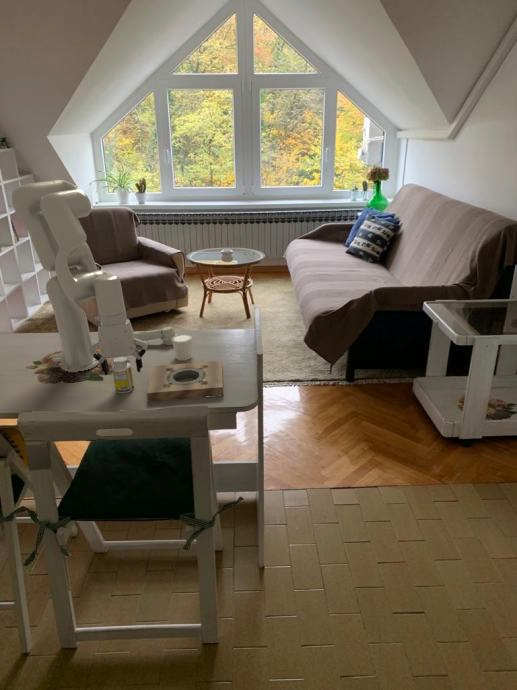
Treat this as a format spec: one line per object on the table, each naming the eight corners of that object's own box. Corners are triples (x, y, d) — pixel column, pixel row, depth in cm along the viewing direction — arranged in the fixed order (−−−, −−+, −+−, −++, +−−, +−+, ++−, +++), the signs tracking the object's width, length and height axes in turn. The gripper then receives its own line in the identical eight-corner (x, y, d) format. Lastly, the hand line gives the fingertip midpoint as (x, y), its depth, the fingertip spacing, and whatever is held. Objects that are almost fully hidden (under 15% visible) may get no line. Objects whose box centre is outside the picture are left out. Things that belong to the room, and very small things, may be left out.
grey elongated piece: (110, 333, 201) (176, 321, 199) (115, 349, 204) (180, 338, 202) (106, 338, 197) (173, 327, 194) (111, 355, 199) (178, 344, 197)
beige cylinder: (195, 352, 191) (193, 333, 188) (191, 361, 184) (189, 342, 182) (176, 352, 191) (174, 334, 189) (171, 361, 185) (169, 342, 182)
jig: (148, 402, 160) (146, 393, 159) (154, 374, 177) (153, 366, 175) (223, 396, 161) (222, 387, 160) (222, 369, 178) (221, 360, 176)
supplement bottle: (126, 383, 172) (121, 354, 167) (138, 388, 168) (133, 358, 164) (112, 390, 168) (106, 360, 164) (123, 396, 164) (117, 365, 160)
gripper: (80, 325, 154) (91, 379, 161) (141, 319, 155) (150, 374, 162) (85, 316, 161) (96, 369, 168) (144, 311, 162) (153, 363, 169)
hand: (123, 371), depth 165 cm, fingers open, 9 cm apart
